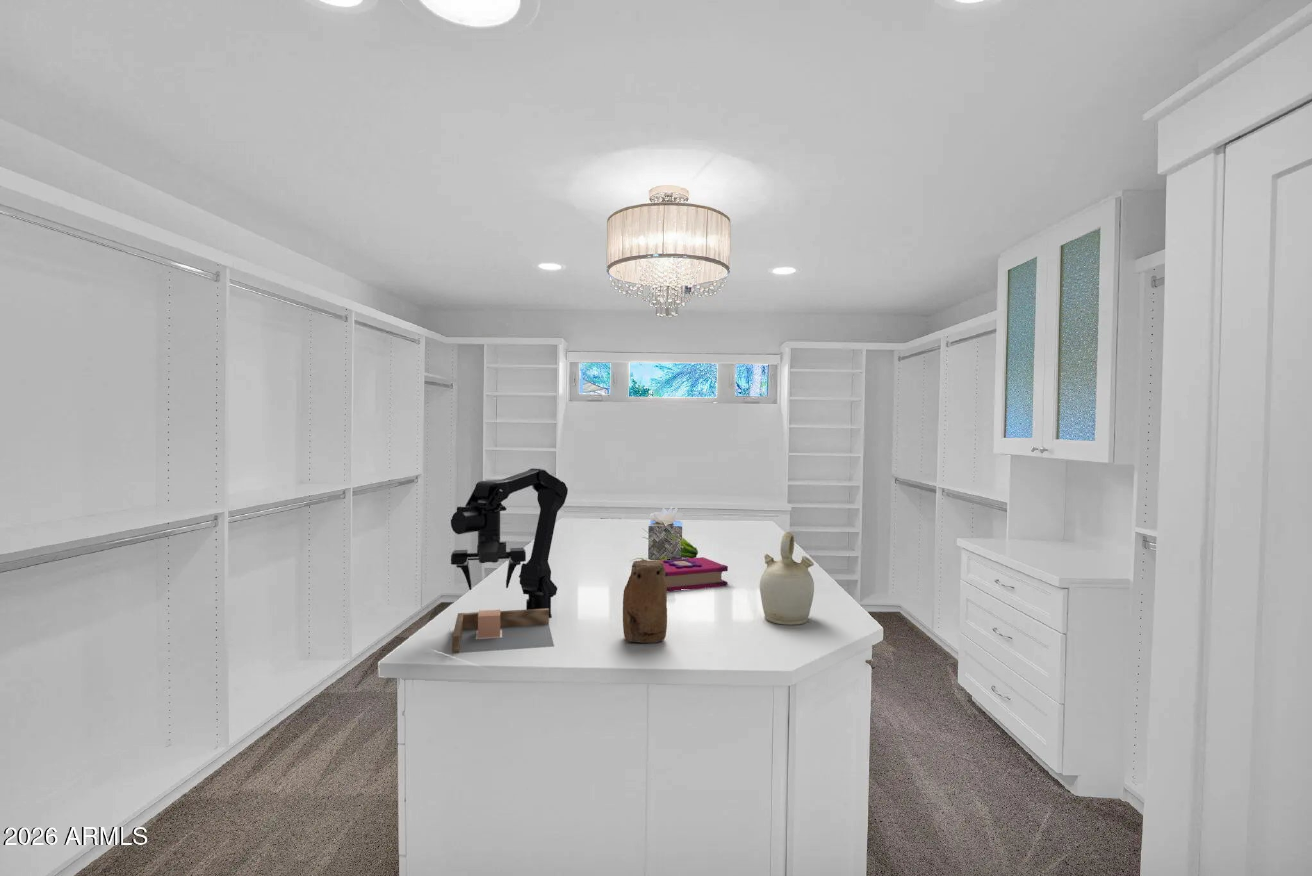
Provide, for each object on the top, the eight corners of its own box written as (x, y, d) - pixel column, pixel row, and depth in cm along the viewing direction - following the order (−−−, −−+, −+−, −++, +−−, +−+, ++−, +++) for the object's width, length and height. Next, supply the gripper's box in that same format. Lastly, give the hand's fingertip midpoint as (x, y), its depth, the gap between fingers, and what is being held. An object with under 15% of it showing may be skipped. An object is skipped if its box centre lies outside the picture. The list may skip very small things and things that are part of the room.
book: (632, 580, 232) (633, 559, 232) (701, 574, 243) (701, 554, 243) (656, 594, 213) (656, 571, 213) (729, 587, 224) (729, 565, 224)
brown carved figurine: (661, 634, 169) (662, 558, 169) (668, 643, 162) (669, 564, 162) (620, 636, 167) (621, 560, 167) (626, 646, 159) (627, 565, 159)
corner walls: (548, 622, 177) (548, 608, 177) (554, 646, 158) (554, 630, 158) (457, 628, 172) (458, 613, 172) (452, 653, 152) (452, 636, 152)
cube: (500, 630, 170) (500, 609, 170) (500, 636, 165) (500, 615, 165) (478, 631, 169) (478, 610, 169) (477, 638, 163) (478, 616, 163)
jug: (823, 618, 185) (824, 532, 185) (795, 630, 173) (796, 538, 173) (778, 608, 195) (778, 526, 195) (748, 619, 184) (749, 532, 184)
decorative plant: (627, 558, 273) (627, 524, 273) (696, 558, 274) (696, 523, 274) (628, 567, 255) (628, 530, 255) (702, 566, 256) (702, 529, 256)
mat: (548, 623, 177) (548, 622, 177) (554, 647, 158) (554, 645, 158) (457, 629, 172) (457, 627, 172) (452, 654, 152) (452, 652, 152)
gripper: (449, 535, 158) (449, 598, 158) (526, 532, 162) (526, 594, 162) (452, 528, 168) (452, 587, 169) (524, 526, 173) (524, 584, 173)
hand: (488, 588), depth 168 cm, fingers open, 9 cm apart
